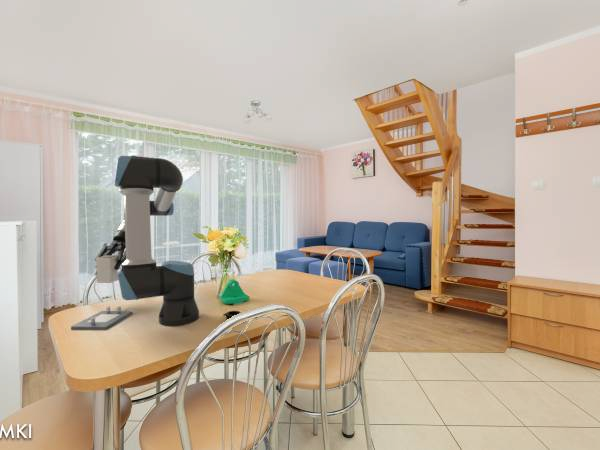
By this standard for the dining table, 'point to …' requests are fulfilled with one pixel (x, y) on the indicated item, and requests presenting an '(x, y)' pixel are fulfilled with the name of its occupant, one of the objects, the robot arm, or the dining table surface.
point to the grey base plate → (102, 319)
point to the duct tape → (231, 314)
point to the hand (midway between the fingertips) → (103, 275)
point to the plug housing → (106, 269)
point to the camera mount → (233, 293)
